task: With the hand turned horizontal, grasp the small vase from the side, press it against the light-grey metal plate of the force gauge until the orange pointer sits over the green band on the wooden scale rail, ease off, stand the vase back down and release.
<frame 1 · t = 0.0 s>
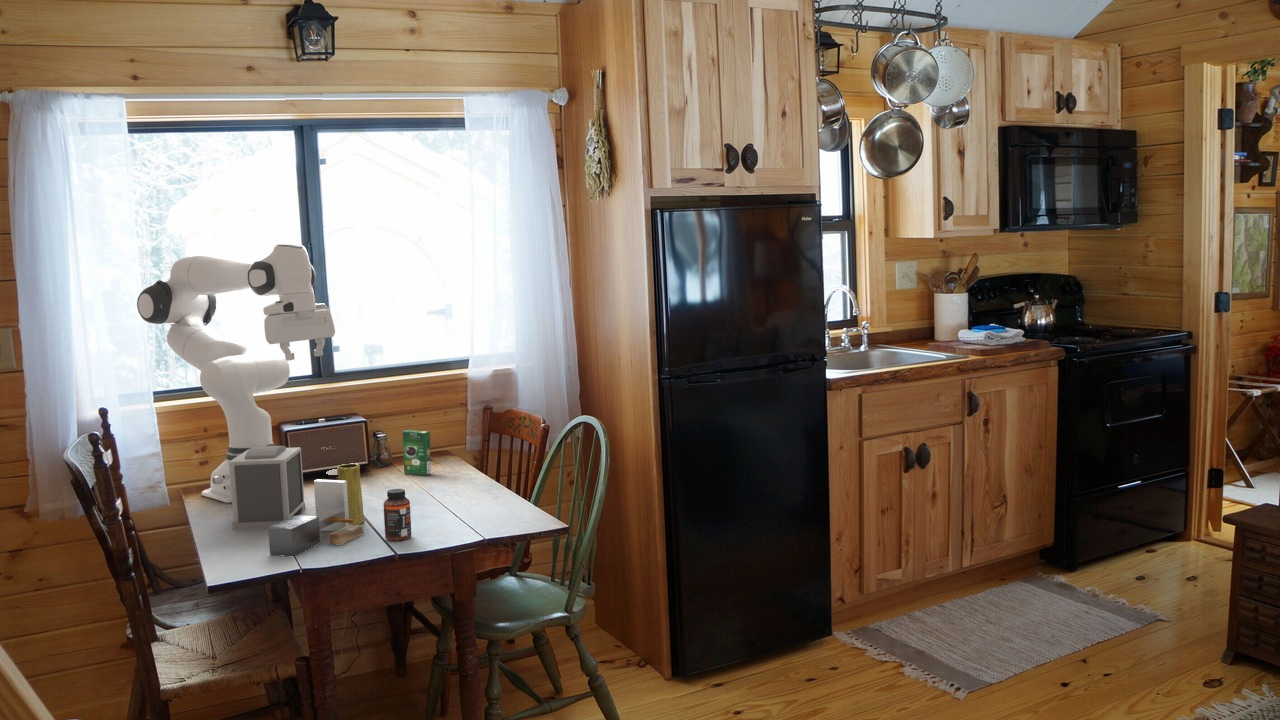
hand: (304, 358, 261), 39 cm above the table, tool pointing down, fingers open, 8 cm apart
grey box: (270, 519, 252), on the table
mug: (337, 473, 303), on the table
supplement bottle: (398, 539, 232), on the table
coffee box: (418, 475, 297), on the table
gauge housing: (294, 535, 225), on the table
vase: (351, 523, 246), on the table
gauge: (324, 511, 233), point 6 cm above the table, slide at 0.0 cm
scale rail: (346, 534, 232), on the table
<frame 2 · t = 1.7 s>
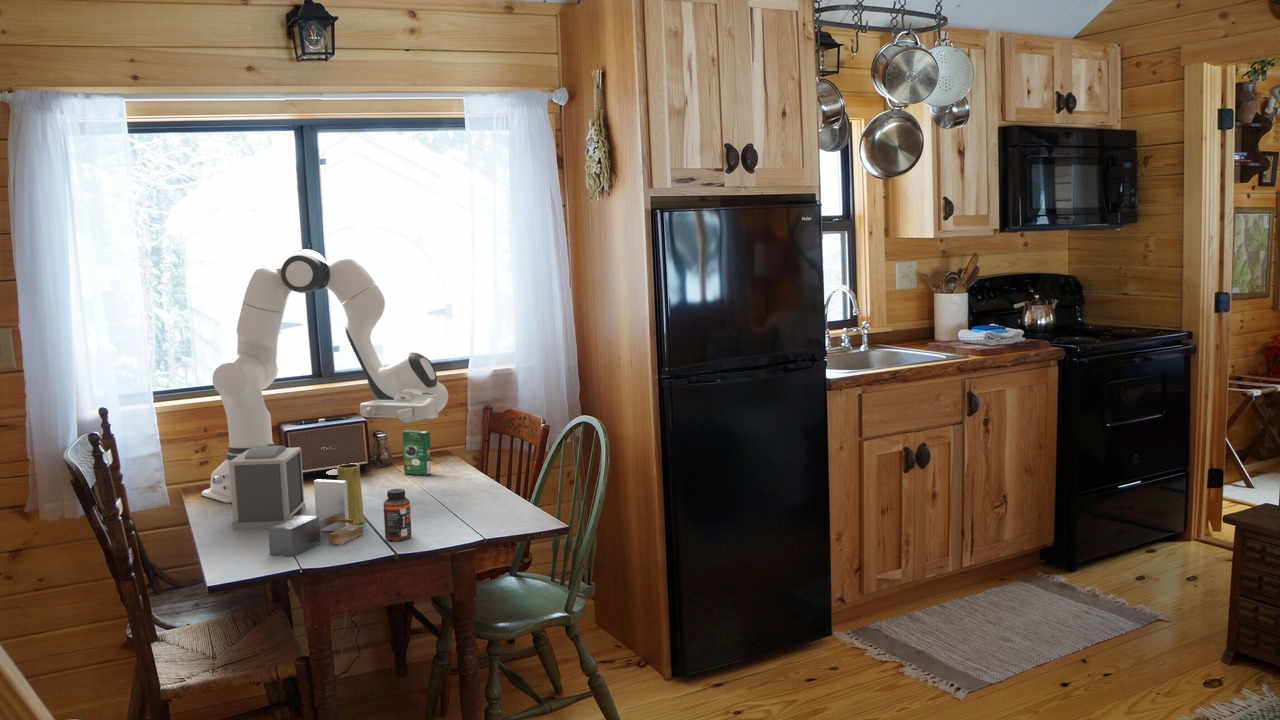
hand: (381, 414, 259), 24 cm above the table, tool horizontal, fingers open, 8 cm apart
nothing on the table moved.
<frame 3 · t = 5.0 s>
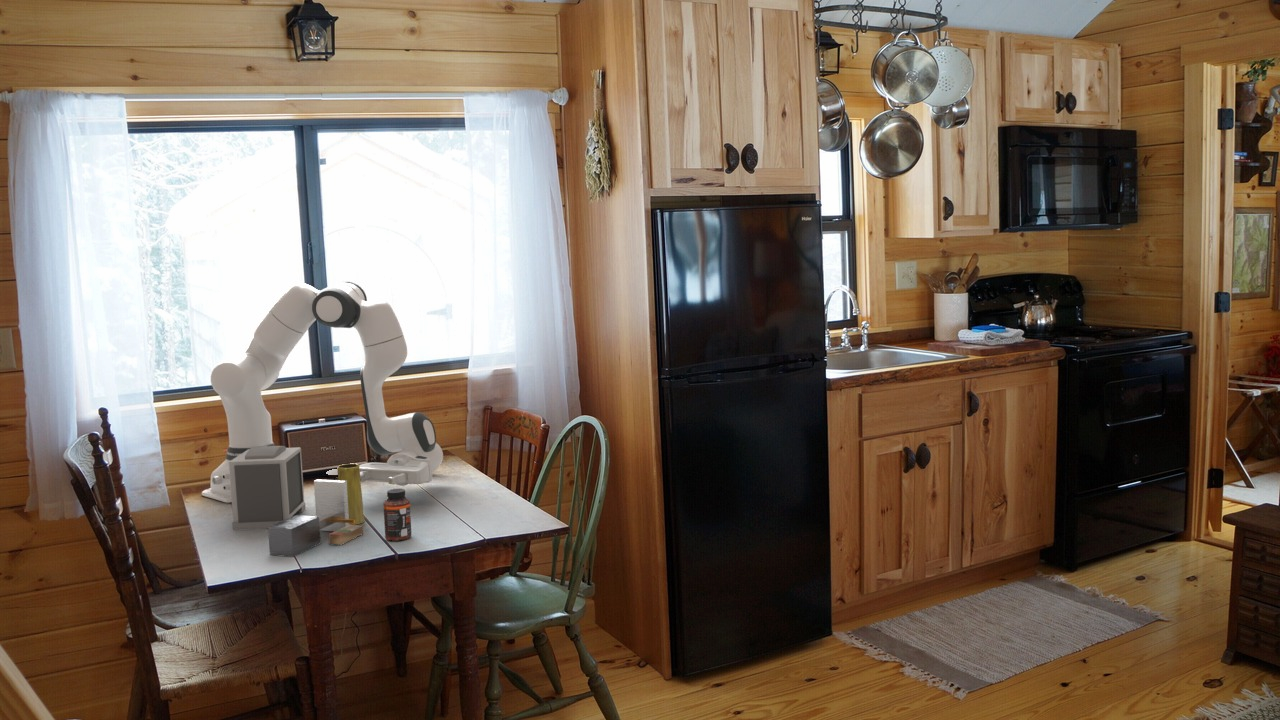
hand: (374, 480, 256), 8 cm above the table, tool horizontal, fingers open, 8 cm apart
nothing on the table moved.
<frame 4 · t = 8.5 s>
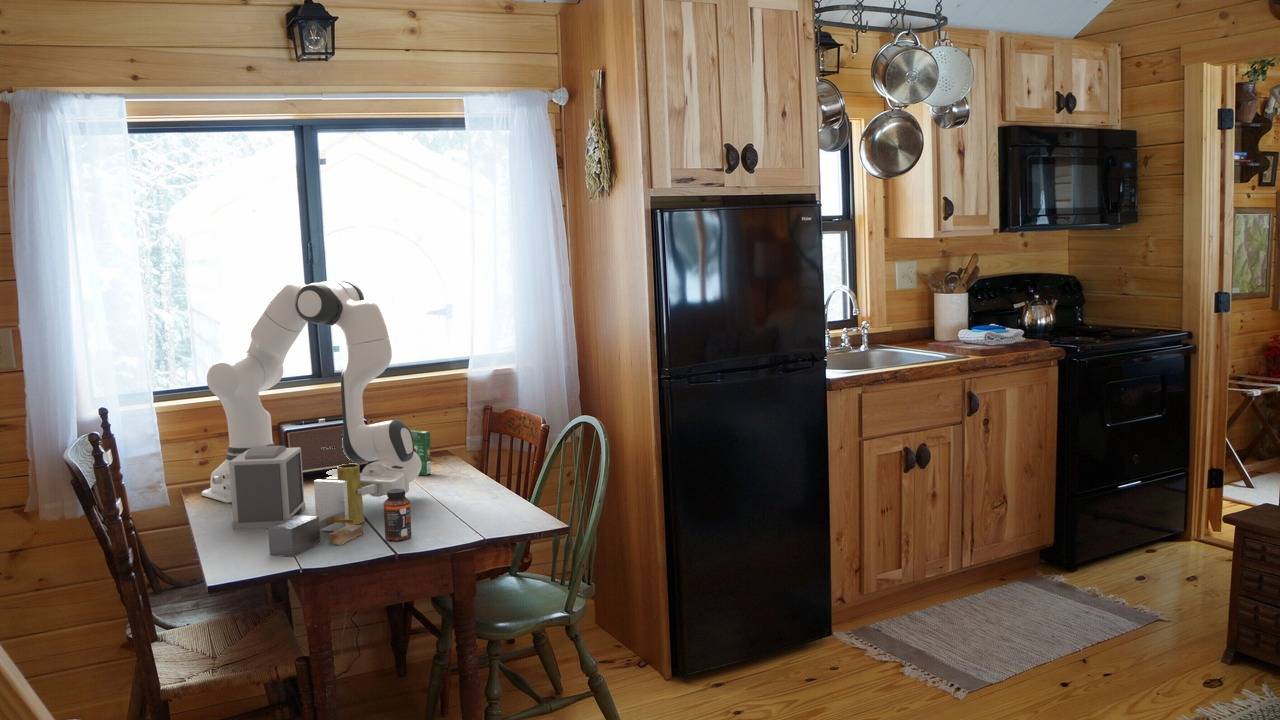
hand: (347, 491, 245), 8 cm above the table, tool horizontal, fingers closed on vase, 5 cm apart
vase: (351, 523, 246), on the table, touching gripper
everything else where it was.
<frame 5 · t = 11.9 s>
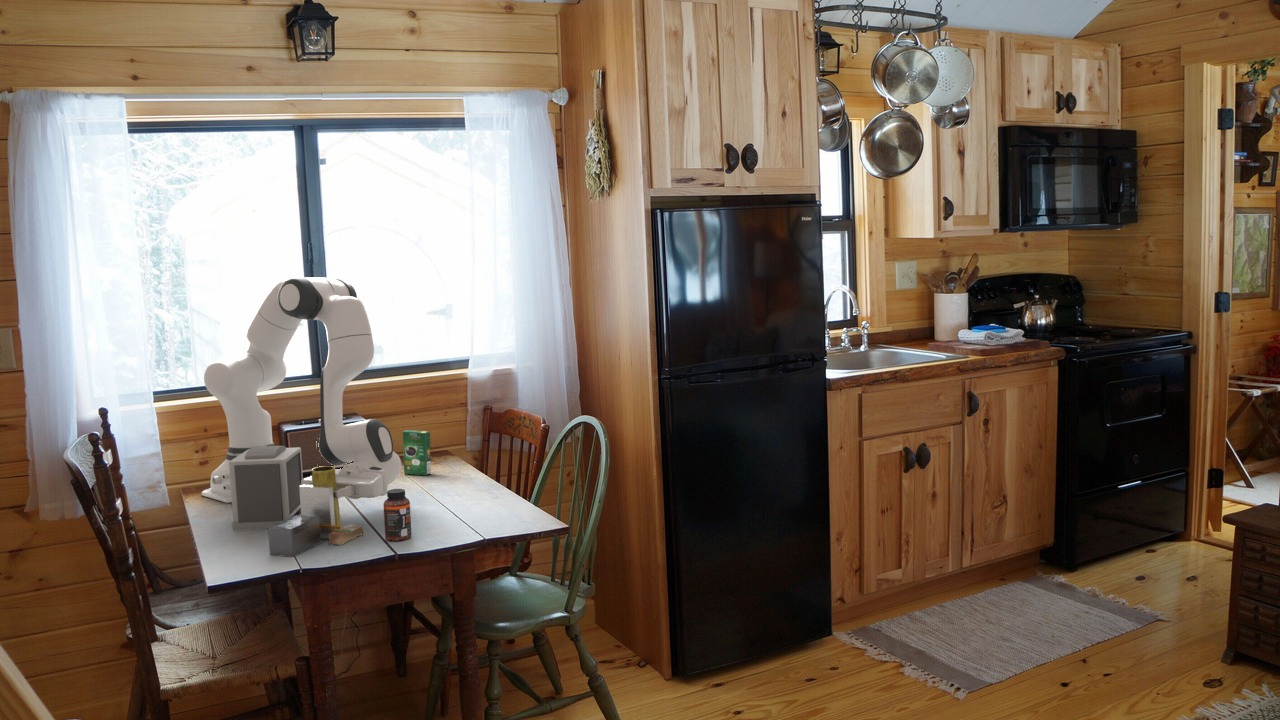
hand: (323, 493, 235), 10 cm above the table, tool horizontal, fingers closed on vase, 5 cm apart
vase: (328, 527, 237), point 1 cm above the table, touching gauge, gripper
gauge: (309, 517, 228), point 6 cm above the table, slide at 5.5 cm, touching vase
everything else where it was.
when the fingers open (9 cm above the table, at t = 14.1 s): vase stays where it is, on the table.
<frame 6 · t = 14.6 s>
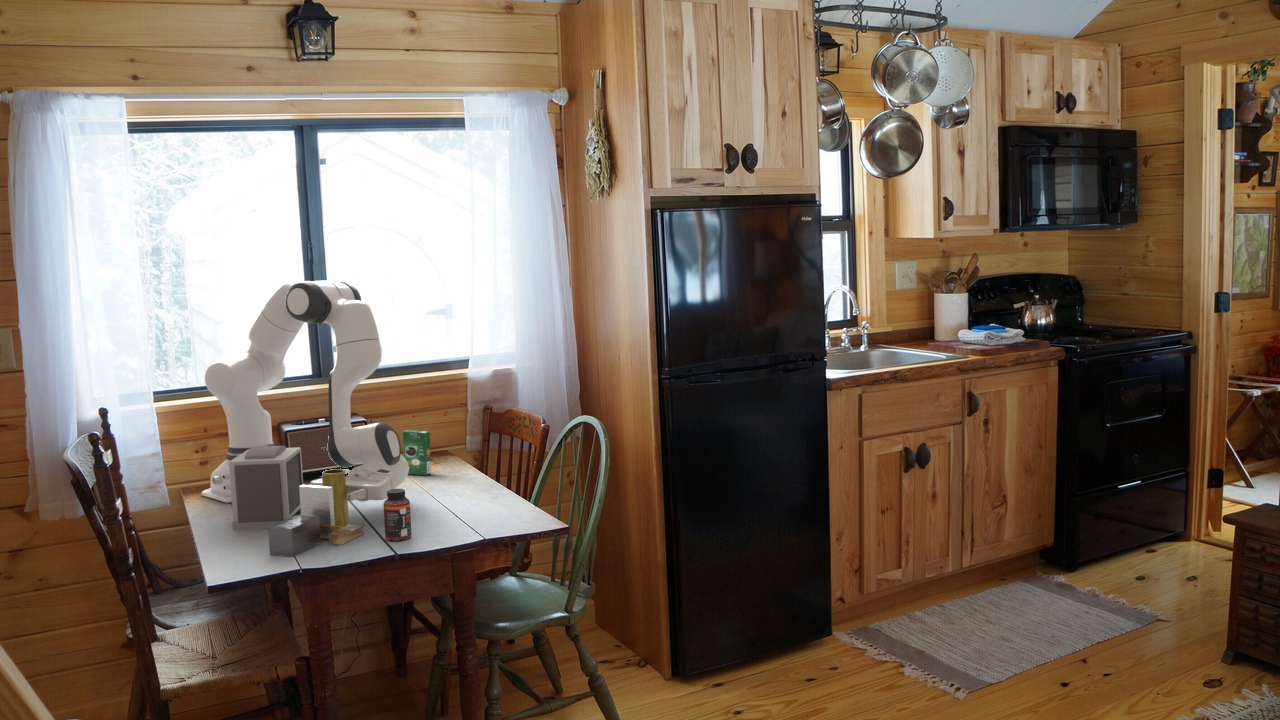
hand: (331, 496, 238), 9 cm above the table, tool horizontal, fingers open, 8 cm apart
vase: (337, 530, 241), on the table
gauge: (309, 517, 228), point 6 cm above the table, slide at 5.6 cm
everything else where it was.
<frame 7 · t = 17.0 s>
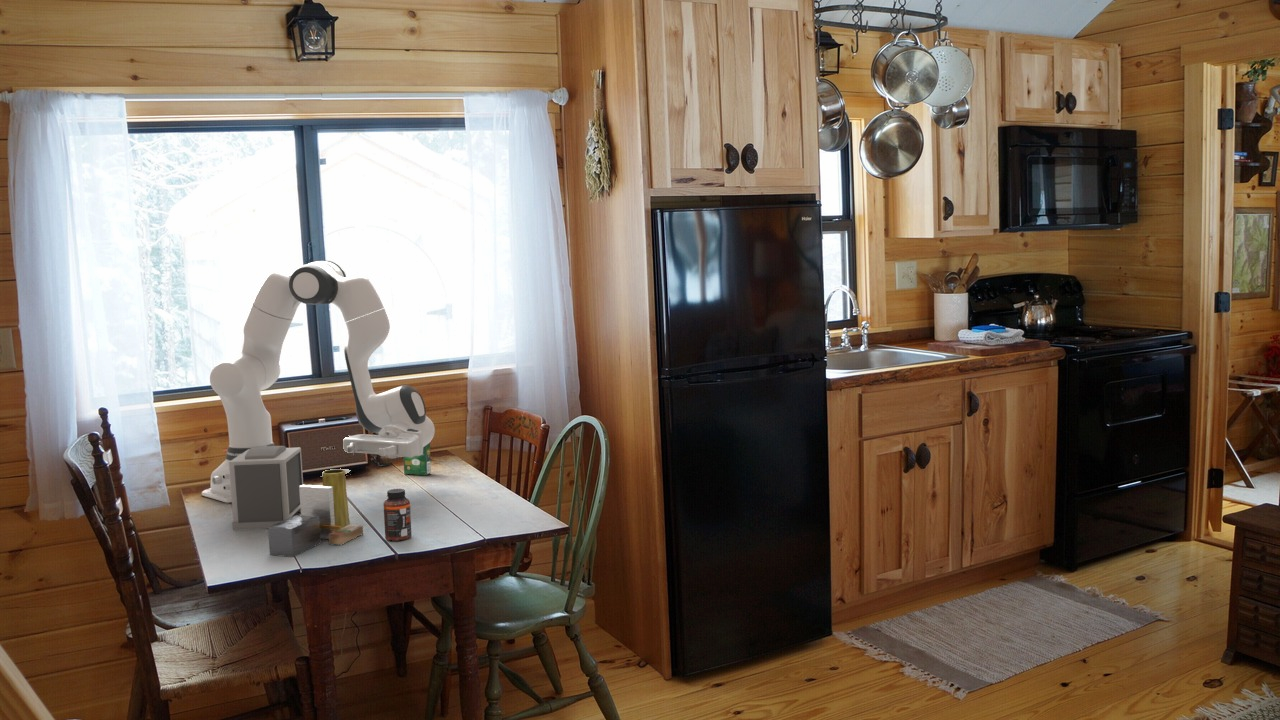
hand: (364, 451, 253), 16 cm above the table, tool horizontal, fingers open, 8 cm apart
nothing on the table moved.
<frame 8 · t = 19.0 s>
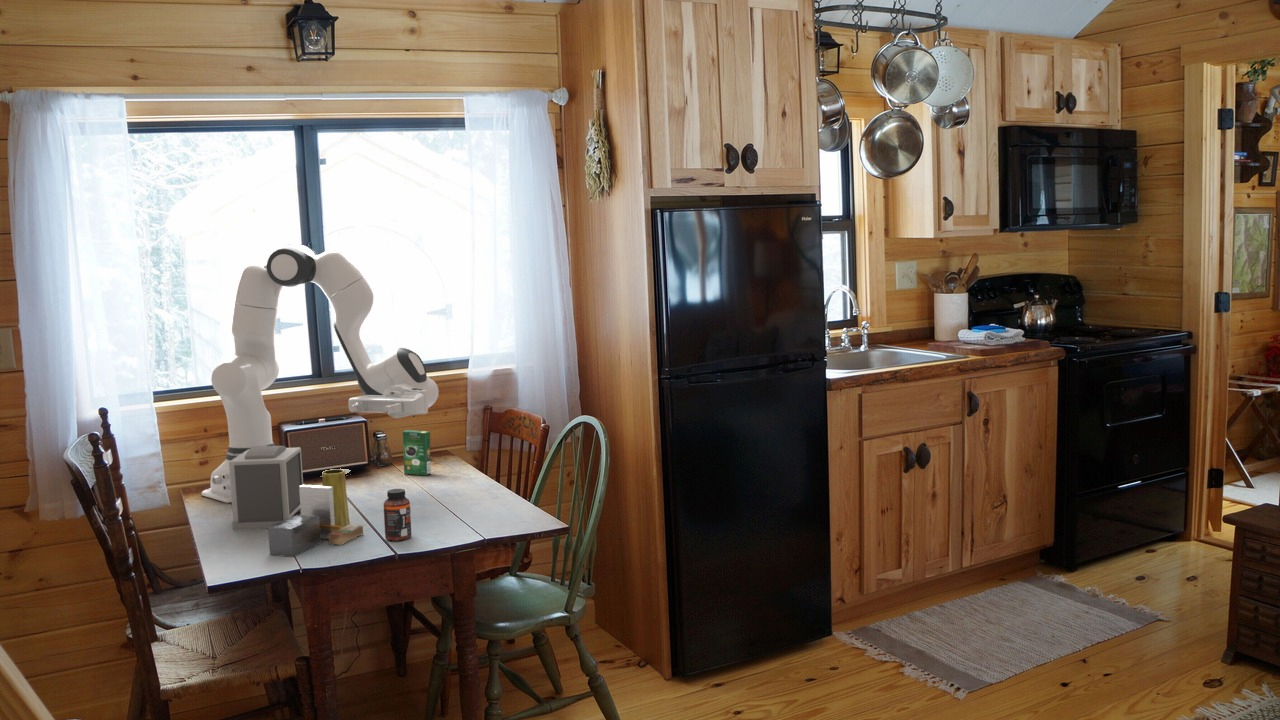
hand: (370, 409, 256), 26 cm above the table, tool horizontal, fingers open, 8 cm apart
nothing on the table moved.
at the end: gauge slide at 5.6 cm; vase tilted 0°; vase inside the target area (1.6 cm from its centre), on the table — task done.
